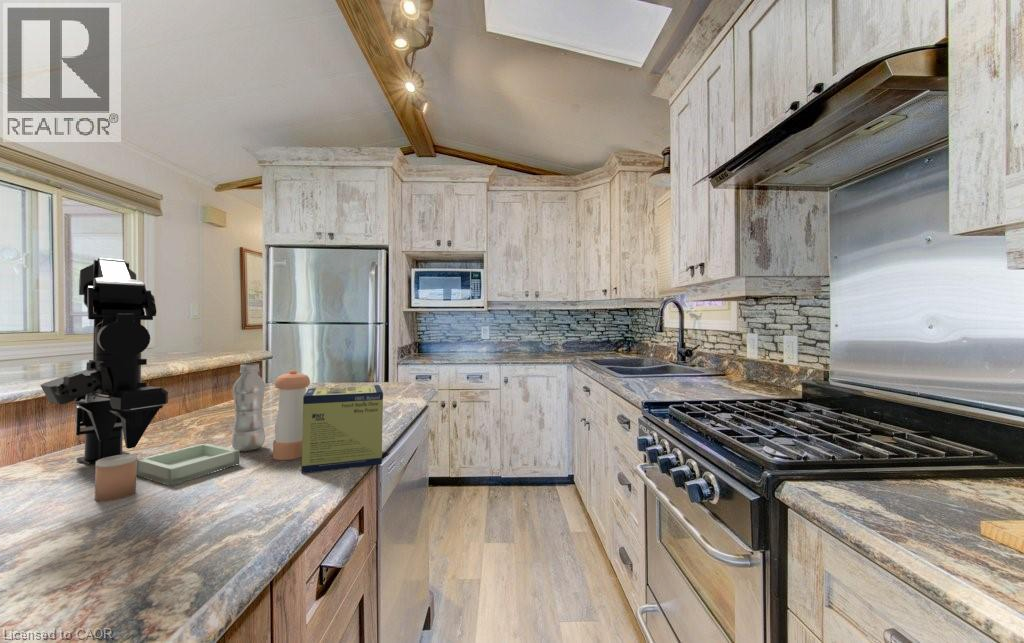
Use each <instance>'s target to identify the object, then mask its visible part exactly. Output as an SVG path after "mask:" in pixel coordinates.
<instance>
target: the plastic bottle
mask: <svg viewBox="0 0 1024 643" xmlns="http://www.w3.org/2000/svg"><path fill="white" fill-rule="evenodd" d="M239 373H240V376H239V377H238V379H236V381H235V382H234V383H233V386H232V395H233V396H232V397H233V402H234V411H235V413H234V414H235V415H234V417H235V418H234V425H233V426H234V428H233V432H232V437H231V445H232V449H235V450H239V452H250V450H251V451H254V450H257V449H261V448H262V446H263V445H264V444H265V441H266V433H265V428H264V420H263V408H264V407H263V406H264V399H265V393H266V392H265V391H266V384H265V381H264V380H263V378H262V377H261V376H260V375H259V373H260V365H259V363H244V364H240V369H239Z"/></svg>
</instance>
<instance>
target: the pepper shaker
mask: <svg viewBox="0 0 1024 643" xmlns="http://www.w3.org/2000/svg"><path fill="white" fill-rule="evenodd" d="M310 383H311V379H310V377H309V376H308V375H307V374H304V373H302V372H298V371H297V370H296V369H291V370H289V371H288V373H283V374H281V375H278V376H277V377H276V379H275V381H274V386H275V388H276V389H278V405H277V406H278V408H277V413H276V419H275V424H274V434H275V435H274V436H275V437H274V440H273V444H272V458H273V459H274V460H277V461H288V460H289V461H290V460H295V459H302V434H303V396H304V395H305V394H306V392H307V387H309V385H310Z"/></svg>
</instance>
